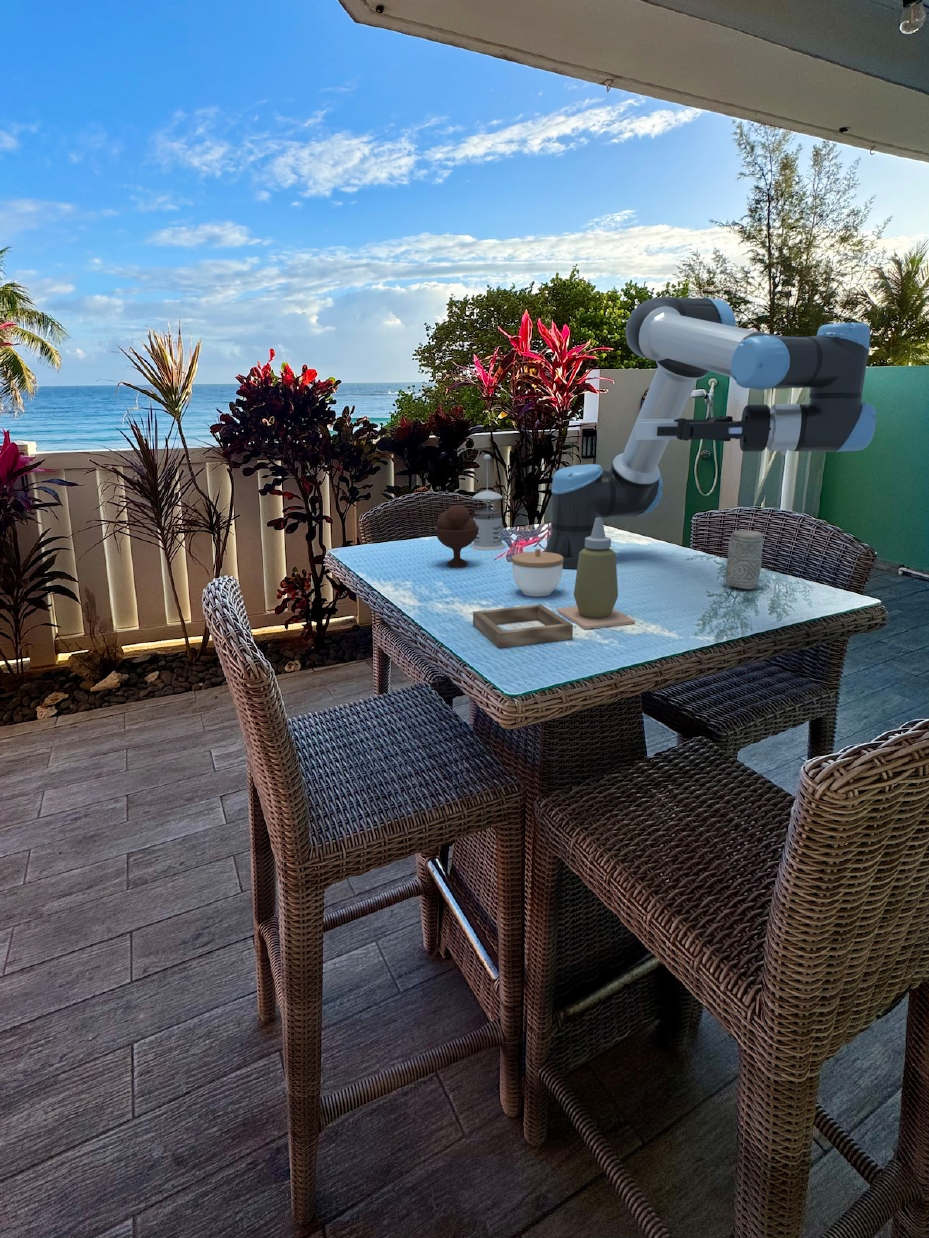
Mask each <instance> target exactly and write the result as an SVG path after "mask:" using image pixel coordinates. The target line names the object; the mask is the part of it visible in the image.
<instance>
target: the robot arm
mask: <svg viewBox="0 0 929 1238" xmlns="http://www.w3.org/2000/svg"><path fill="white" fill-rule="evenodd" d="M817 329H818V330H817V333H816V336H815V335H814V336H786V335H785V336H783V335H776V334H773V333H768V332H767V333H766V332H762V331H758V330H757V331H756V330H752V329H748V328H743V327H738V326H737V324H736V316H735V313H734V310H733V309H732V308H731V306H730V305H729V304H728V303H727V302H726V301H724V300H722V299H715V298H710V297H703V298H700V297H699V298H698V297H695V298H693V297H668V296H661V297H660V296H658V297H653V298H650V299H648V300H645V301H643V302H641V303H640V304H639V305H638V306H636V307H635V308H634V310H633V311H632V312H631V314H630V315H629V316H628V319H627V322H626V325H625V339H626V342H627V345H628V348H630V350H631V351H632V352H633V353H634V354H635V355H636V356H639V358H640V357H641V358H644V359H646V360H647V359H648V360H650V361H651V360H652V361H655V363H656V364H657V368H656V371H655V372H654V373H655V374H654V376H653V379H652V381H651V383H650V386H649V388H648V391H647V393H646V396H645V399H644V401H643V404H642V406H641V408H640V411H639V412H638V416H637V418H636V421H635V423H634V425H633V427H632V431H631V433H630V436H629V437H628V440H627V443H626V446H625V448H624V451H623V452H622V453H619V454H618V455H616V456H615V457H614V458H613V461H612V464H611V466H610V468H609V469H603V467H602V466H601V465H600V464H594V463H587V464H577V465H571V466H566V467H563V468H560V469H558V470H557V471H555V472H554V474H553V477H552V483H551V484H552V485H551V528H550V529H551V531H550V534H549V537H548V540H547V543H546V545H545V549H544V552H550V553H556V554H559V555H561V556H563V558H564V561H563V569H577V566H578V559H579V552H580V551H581V550H583V549H584V548H586V547H585V538H586V537H590V536H591V534H592V530H593V526H594V522H595V518H602V519H609V518H611V519H612V518H622V517H624V518H625V517H634V518H635V517H639V516H641V515H642V516H643V515H647V514H649V513H651V512H652V511H654V510H655V509H656V507H657V506H658V504H659V503H660V501H661V498H662V495H663V490H662V488H663V486H664V485H663V479H662V476H661V471H660V469H659V467H658V465H659V464H660V461H661V459H662V456H663V455H664V452H665V451H666V448H667V445H668V443H669V442H670V440H676V441H677V440H679V441H687V442H688V441H689V440H690V441H691V440H693V441H694V440H696V441H697V440H708V441H720V442H731V439H735V440H739V449H740V450H741V451H742V452H745V453H747V452H750V453H751V452H753V453H754V452H757V453H758V452H763V451H765V449H767V450H768V452H780V455H781V456H785V455H787V452H788V451H789V452H808V453H809V452H813V453H815V452H816V453H817V452H819V453H822V452H823V453H826V452H827V453H839V452H855V451H857V452H858V451H862V450H865V449H866V448H867V447H868V446H869V445H870V443H871V442H872V439H873V437H874V435H875V431H876V423H877V422H876V415H877V412H876V409H875V406H874V405H873V404H872V403H866V402H864V401H863V397H862V395H863V390H864V383H865V377H866V370H867V364H868V356H869V354H870V351H871V350H870V341H871V328H870V326H869V325H868V324H867V323H864V322H839V323H838V322H837V323H828V324H823V325H821V326H820V327H819V328H817ZM709 372H712V373H716V374H719V375H723V376H725V377H730V378H733V380H735V382H736V385H738V387H741V388H744V389H751V390H760V391H763V390H764V391H765V390H769V389H808V388H809V403H806V404H803V403H801V404H799V403H775V404H774V403H773V405H771V406H769V405H768V404H746V406H744V408H743V410H742V413H741V420H734V419H733V416H731V415H721V416H719V417H716V416H710V417H706V418H705V419H702V418H701V419H698V418H694V419H692V418H691V419H690V418H689V419H687V418H685V417H684V418H681V414H682V413H683V411H684V408H685V406H686V404H687V402H688V399H689V398H690V396H691V394H692V391H693V388H694V386H695V385H696V382H697V380H700V379H704V378H705V377H706V376H707V374H708V373H709Z"/></svg>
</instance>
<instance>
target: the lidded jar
mask: <svg viewBox="0 0 929 1238" xmlns="http://www.w3.org/2000/svg"><path fill="white" fill-rule="evenodd" d="M563 561H564V558H563V556H561V555H559V554H556V553H550V552H545V551H541V548H535V550H534V551H524V552H518V553H516V554H514V555H513V554H512V557H511V563H512V569H511V570H512V577H513V580H514V583H515V584H516V586H517V587H518V589H519V590H520V591H521V592H522V594H523V595H524V596H528V597H547V596H550V595H551V594H553V593H552V592H554V590H556V588H558V586H559V584H560V582H561V580H562V576H563V570H564V568H563Z"/></svg>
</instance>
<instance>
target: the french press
mask: <svg viewBox="0 0 929 1238" xmlns="http://www.w3.org/2000/svg"><path fill="white" fill-rule="evenodd" d="M491 459H492V457H491V455H490V454H488V453H486V454H485V455H484V456H483V460H486V489H485V490H483V491H481V492H478V493H476V494H475V495H473V496H472V499H473V500H475V501H485V504H486V509H478V510H475V511H474V514H475V515H476V516H473V517H472V519H473V520H475V523H476V525H478V527H479V529H478V534H477V536H476V539H475V540H474V541H473V543H471V544H470V546H471V547H470V549H472V548H473V549H472V550H475V551H476V550H477V551H496V550H497V551H499V550H503V549H504V548H506V545H505V544H504V543H503V516H501V515H500V514H501V512H502V511H500V510H498V509H495V505H494V504H495V503H494V501H499V500H502V499H503V496H502V495H501V494H500V493H498V492H496V491H491V490H489V487H488V485H489V483H488V481H489V479H488V478H489V477H488V476H489V475H488V471H489V470H488V468H489V466H488V463H489V462H488V461H489V460H491ZM488 501H490V502H491V504H489V502H488ZM489 506H492V508H493V509H489ZM489 516H490V519H489Z"/></svg>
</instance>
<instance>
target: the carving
mask: <svg viewBox="0 0 929 1238" xmlns="http://www.w3.org/2000/svg"><path fill="white" fill-rule="evenodd" d="M763 540H764V535H763V533H761V532H759V531H756V530H745V529H744V530H743V529H741V530H735V531H732V534H731V535H730V537H729V543H728V546H727V549H728V550H727V557H728V558H726V567H725V575H724V579H725V583H726V585H727V586H729V587H733V588H738V589H743V590H755V589H756V588H757V587H758V586H757V585H758V584H759V579H760V574H761V568H762V564H763V560H762V559H763V546H764V544H763V543H764V541H763Z"/></svg>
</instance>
